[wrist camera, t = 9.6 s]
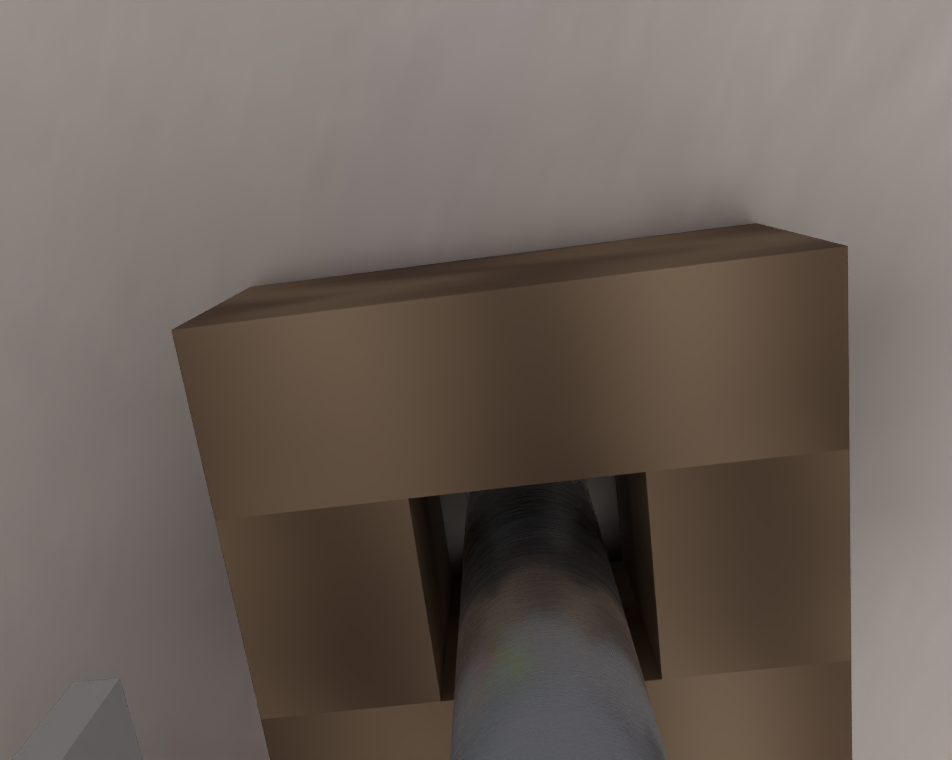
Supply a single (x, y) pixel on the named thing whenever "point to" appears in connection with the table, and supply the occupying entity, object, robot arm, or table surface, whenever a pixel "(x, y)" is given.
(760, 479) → the socket block
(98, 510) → the table surface
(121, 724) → the robot arm
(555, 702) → the peg
